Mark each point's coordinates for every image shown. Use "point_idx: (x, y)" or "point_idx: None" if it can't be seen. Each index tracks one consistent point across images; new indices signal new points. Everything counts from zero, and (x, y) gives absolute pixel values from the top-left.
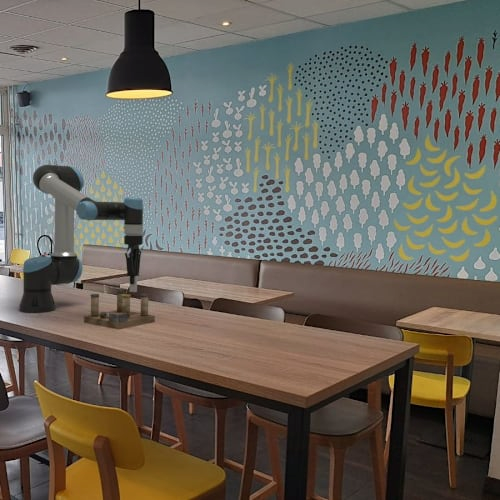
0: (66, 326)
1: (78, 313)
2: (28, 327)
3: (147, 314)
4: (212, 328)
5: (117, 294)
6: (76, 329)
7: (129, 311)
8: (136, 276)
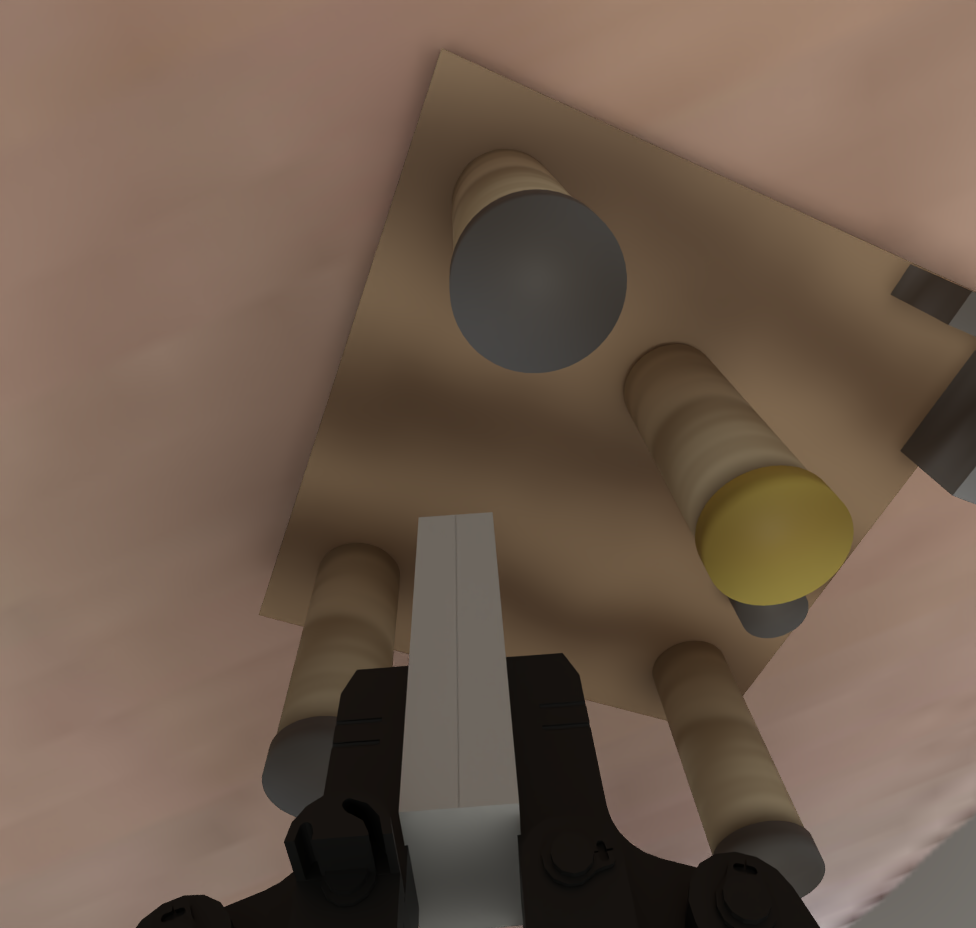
0: (857, 721)
1: None
2: (914, 866)
3: (518, 151)
4: None
5: None
6: (967, 621)
7: (699, 370)
8: (457, 801)
